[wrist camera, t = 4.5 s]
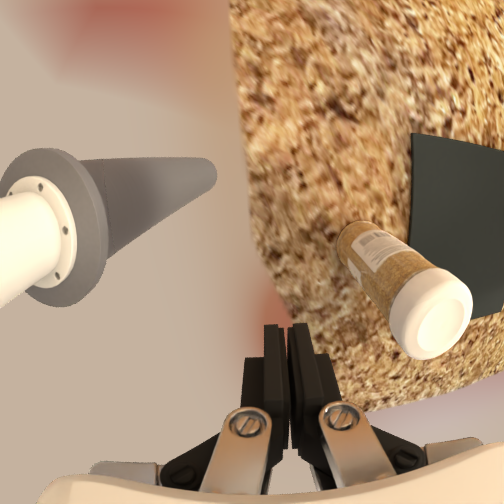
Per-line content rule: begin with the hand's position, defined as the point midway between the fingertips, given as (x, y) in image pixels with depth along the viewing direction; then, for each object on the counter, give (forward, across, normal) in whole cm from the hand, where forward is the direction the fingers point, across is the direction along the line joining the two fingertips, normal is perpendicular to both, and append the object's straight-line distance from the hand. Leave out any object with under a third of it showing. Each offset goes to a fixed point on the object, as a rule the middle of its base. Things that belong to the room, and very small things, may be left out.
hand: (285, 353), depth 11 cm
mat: (+14, -22, 0) cm, 26 cm away
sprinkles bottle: (+14, -8, 0) cm, 16 cm away
